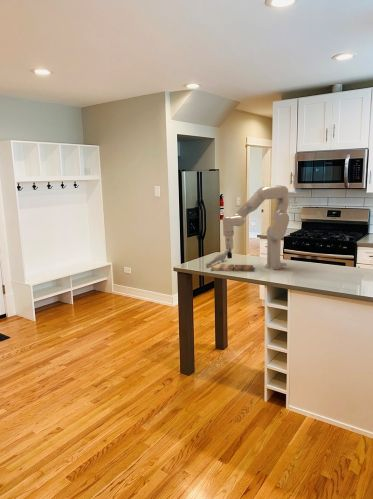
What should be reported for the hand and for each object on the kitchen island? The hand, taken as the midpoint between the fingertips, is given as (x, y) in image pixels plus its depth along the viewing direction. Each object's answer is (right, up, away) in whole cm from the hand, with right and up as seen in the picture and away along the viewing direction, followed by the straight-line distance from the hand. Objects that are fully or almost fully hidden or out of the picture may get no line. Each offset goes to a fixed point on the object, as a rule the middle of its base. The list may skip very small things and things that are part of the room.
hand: (229, 258), depth 276 cm
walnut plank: (+10, -8, -1) cm, 13 cm away
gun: (-8, -5, +20) cm, 22 cm away
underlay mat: (+3, -8, +1) cm, 9 cm away
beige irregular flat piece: (-5, -8, +2) cm, 9 cm away
